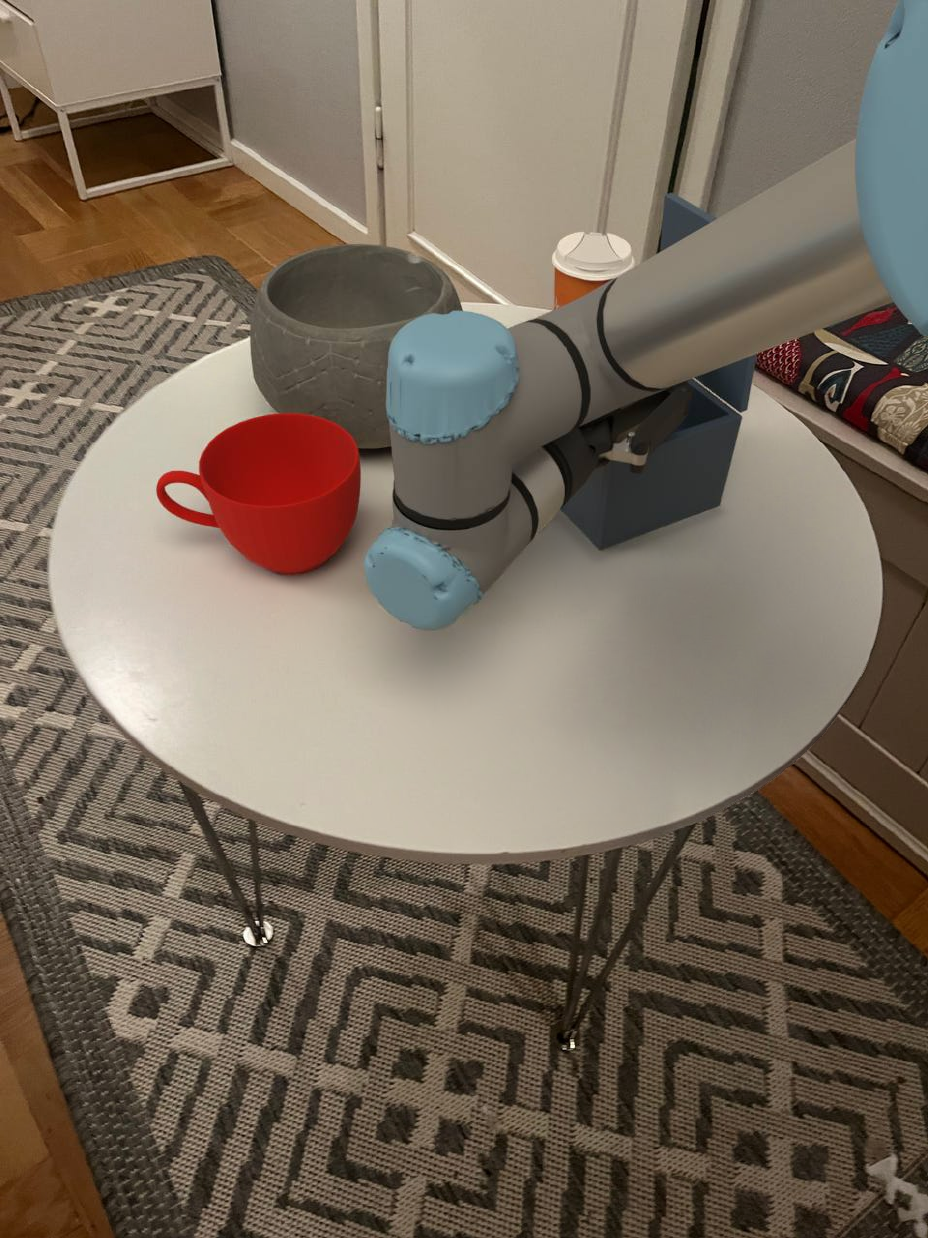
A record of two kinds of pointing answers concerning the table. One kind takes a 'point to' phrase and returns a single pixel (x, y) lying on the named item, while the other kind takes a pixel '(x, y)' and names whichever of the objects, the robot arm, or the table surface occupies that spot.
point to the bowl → (340, 331)
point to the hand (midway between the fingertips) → (657, 341)
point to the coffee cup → (588, 264)
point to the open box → (661, 477)
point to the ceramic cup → (277, 489)
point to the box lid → (737, 376)
